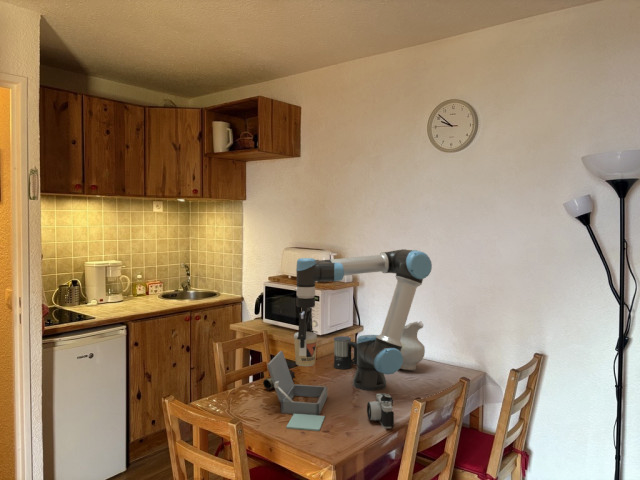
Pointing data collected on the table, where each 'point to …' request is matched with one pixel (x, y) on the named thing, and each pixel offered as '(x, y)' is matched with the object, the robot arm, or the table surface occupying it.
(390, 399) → the camera
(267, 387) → the metal pipe
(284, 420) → the table surface
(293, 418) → the mat
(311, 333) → the coffee cup
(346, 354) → the milk frother
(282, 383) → the equipment case
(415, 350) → the ceramic pitcher
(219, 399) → the table surface
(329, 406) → the table surface
